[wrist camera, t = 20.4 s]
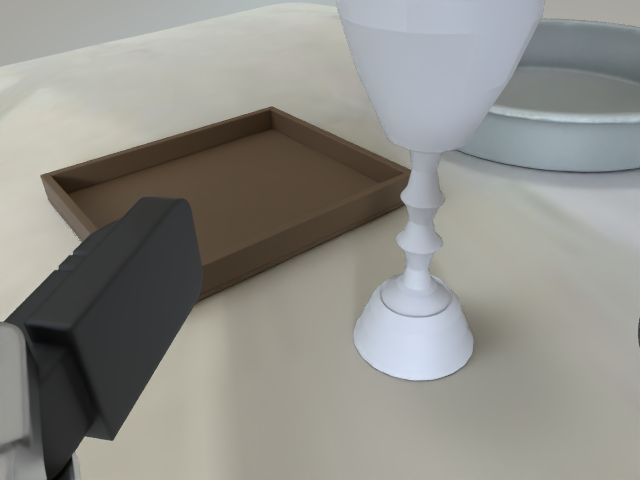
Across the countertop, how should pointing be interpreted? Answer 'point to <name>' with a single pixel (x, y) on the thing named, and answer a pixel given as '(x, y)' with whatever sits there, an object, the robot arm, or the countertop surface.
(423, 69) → the chalice
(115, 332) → the robot arm
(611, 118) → the cake pan
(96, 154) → the countertop surface
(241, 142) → the tray
